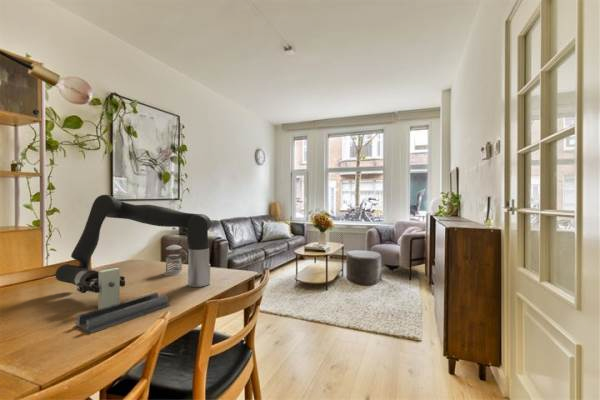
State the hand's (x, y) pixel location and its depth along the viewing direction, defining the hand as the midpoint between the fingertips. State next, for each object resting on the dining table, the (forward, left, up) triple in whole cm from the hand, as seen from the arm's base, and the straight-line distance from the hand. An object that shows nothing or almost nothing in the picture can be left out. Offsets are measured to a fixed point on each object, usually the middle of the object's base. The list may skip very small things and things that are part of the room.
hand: (111, 286), depth 102 cm
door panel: (+1, -1, -8) cm, 8 cm away
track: (-4, +9, -8) cm, 13 cm away
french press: (-29, -41, -8) cm, 51 cm away
